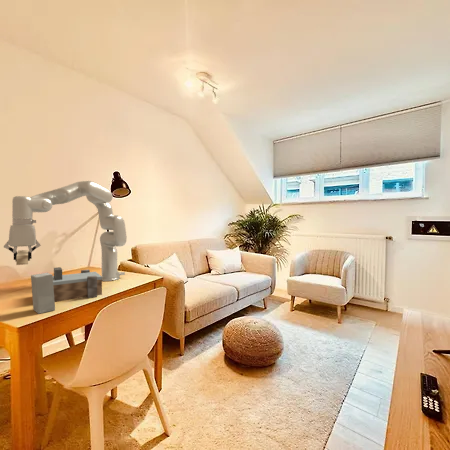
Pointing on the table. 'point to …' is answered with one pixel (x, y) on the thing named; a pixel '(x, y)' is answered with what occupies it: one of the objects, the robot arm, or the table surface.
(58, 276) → the lid
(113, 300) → the table surface
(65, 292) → the brown wooden box
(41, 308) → the skincare box
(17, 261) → the smooth beige tapered object
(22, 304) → the table surface
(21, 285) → the table surface
